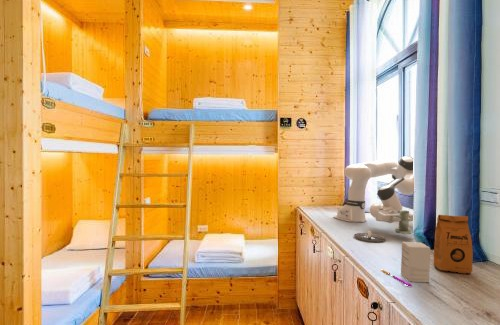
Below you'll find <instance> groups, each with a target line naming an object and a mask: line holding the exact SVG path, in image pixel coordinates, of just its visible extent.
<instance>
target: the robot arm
mask: <svg viewBox="0 0 500 325" xmlns="http://www.w3.org/2000/svg"><path fill="white" fill-rule="evenodd" d="M413 159H414V158H413V157H412V156H408V155H405V156H401V157H400V158H399V159H398V162H397V161H396V160H395V159H393V158H390V159H389V158H387V159H384V158H383V159H380V160H375V161H369V162H362V163H355V164H350V165H347V166H346V167H345V169H344V172H343V173H344V176H345V177H346V178H347V179H349V180H351V184H350V186H349V187H348V192H347V194H348V195H347V199H346V200H344V203H345V204H344V205H343V206H341V207H340V208H338V209H337V213H336V214H335V215H334V216H333V218H334V219H336V220H337V219H338V220H341V221H346V222H348V223H349V222H354V223H355V222H356V223H361V222H362V223H365V222H367V218H366V213H365V212H366V209H365V208H366V200H365V199H366V198H365V197H366V189H367V188H366V187H367V184H368V181H369V180H370V179H371V178H378V177H382V176H385V175H386V176H387V175H391V178H392V179H393V180H391V181H390V182H388V183H387V184H385V185H384V186H381V187H379V188H378V190H377V194H376V195H377V197H378V198H379V200H380V201H381V204H377V203H375V204H372V205H371V206H370V207H369V213H370V215H371V216H372V217H373V218H375V221H377V222H384V223H389V224H392V223H395V222H398V223H399V222H401V218H399V216H400V210H403V206H402V204H401V201H400V199H399V196H398V195H397V193H396V190H397V191H398V192H399V193H400V194H402V195H405V196H410V195H413V194H414V193H413V191H414V176H413ZM413 215H414V214H412V213H409V223H410V222H414V221H413Z"/></svg>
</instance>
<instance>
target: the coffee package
mask: <svg viewBox="0 0 500 325" xmlns="http://www.w3.org/2000/svg"><path fill="white" fill-rule="evenodd" d="M468 222H469V216H467V215H466V216H465V215H461V216H460V215H445V214H438V216H437V219H436V226H435V231H434V248H433V253H434V254H433V266H434V267H436V268H437V269H438V270H440V271H443V272H448V271H450V272H451V273H456V272H458V273H457V274H466V273H472V272H473V259H474V258H473V256H474V251H473V241H472V237H471V236H472V235H471V232H470V227H469V223H468Z"/></svg>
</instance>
